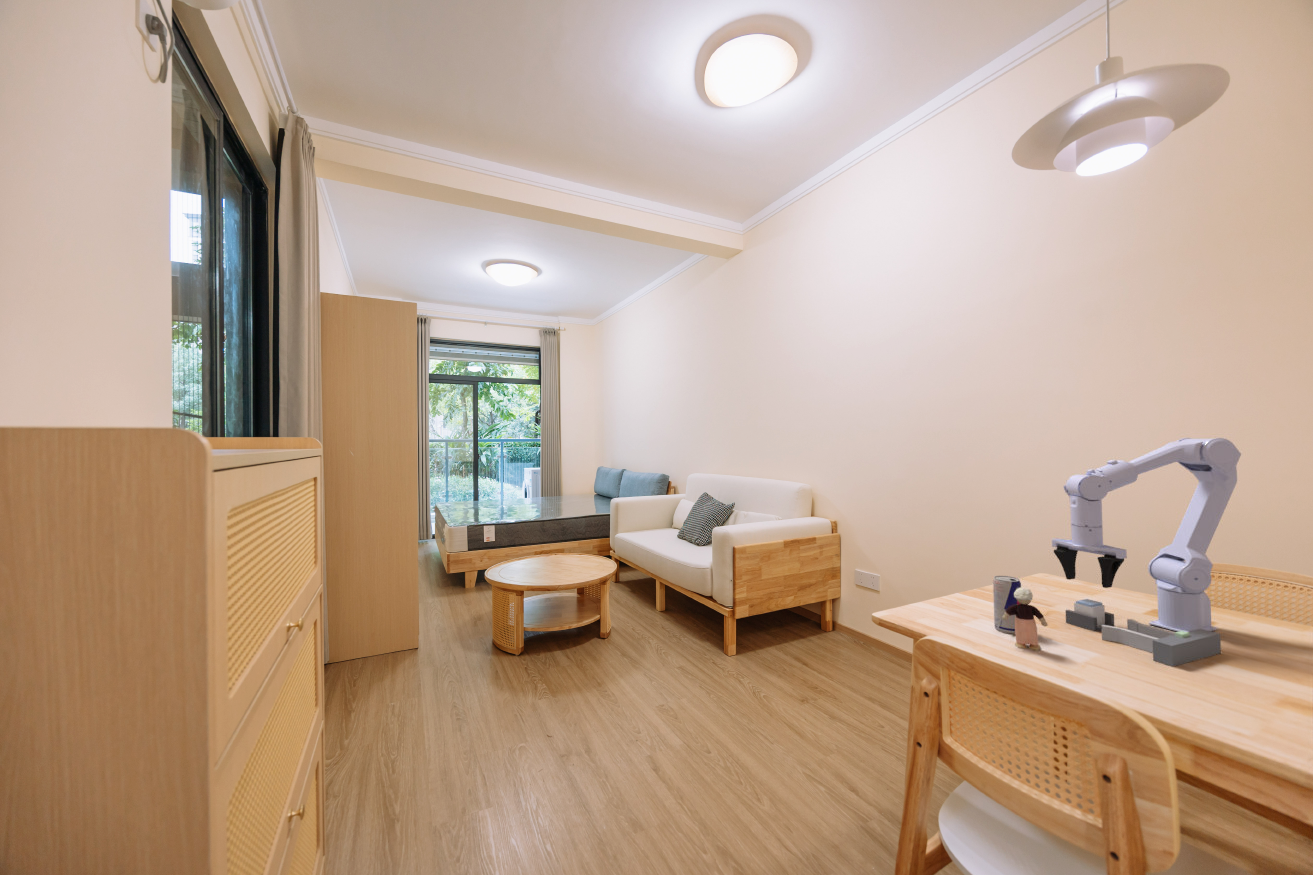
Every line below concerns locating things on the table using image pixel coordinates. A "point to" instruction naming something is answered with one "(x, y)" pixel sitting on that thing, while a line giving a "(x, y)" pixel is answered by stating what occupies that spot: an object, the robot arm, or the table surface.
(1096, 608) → the plug
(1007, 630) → the energy drink
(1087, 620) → the gray vise
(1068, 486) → the robot arm
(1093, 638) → the table surface
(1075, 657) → the table surface
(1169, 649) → the grey forked block
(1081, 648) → the table surface
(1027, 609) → the grandmother figurine
